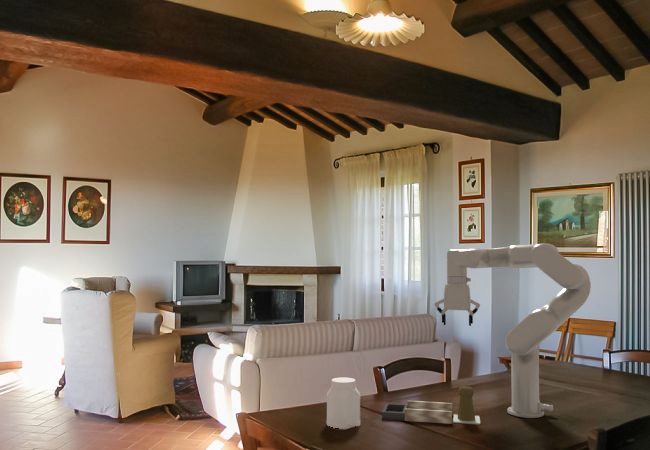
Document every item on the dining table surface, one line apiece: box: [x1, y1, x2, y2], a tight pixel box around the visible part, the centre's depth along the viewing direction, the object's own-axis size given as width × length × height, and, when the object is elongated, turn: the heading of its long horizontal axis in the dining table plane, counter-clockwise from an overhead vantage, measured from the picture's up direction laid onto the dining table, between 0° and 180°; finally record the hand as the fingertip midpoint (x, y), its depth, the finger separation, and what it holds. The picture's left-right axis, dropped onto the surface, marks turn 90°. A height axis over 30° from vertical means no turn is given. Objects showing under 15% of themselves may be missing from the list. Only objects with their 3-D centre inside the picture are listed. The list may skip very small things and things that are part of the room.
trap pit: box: [381, 403, 408, 422], centre depth 210 cm, size 8×12×2 cm, turn 167°
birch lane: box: [404, 400, 453, 425], centre depth 207 cm, size 16×12×4 cm
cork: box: [457, 385, 476, 421], centre depth 204 cm, size 6×6×11 cm
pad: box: [452, 413, 481, 425], centre depth 204 cm, size 9×9×1 cm
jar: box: [326, 376, 361, 430], centre depth 199 cm, size 12×10×15 cm
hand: (457, 325), depth 226 cm, fingers open, 9 cm apart
